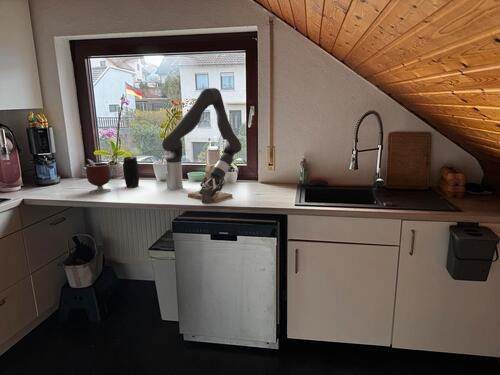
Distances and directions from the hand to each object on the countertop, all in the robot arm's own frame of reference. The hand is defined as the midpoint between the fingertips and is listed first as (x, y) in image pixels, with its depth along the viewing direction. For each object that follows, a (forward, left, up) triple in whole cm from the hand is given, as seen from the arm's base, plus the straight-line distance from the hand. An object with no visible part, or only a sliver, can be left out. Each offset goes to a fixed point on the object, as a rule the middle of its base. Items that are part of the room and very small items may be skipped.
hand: (205, 195), depth 192 cm
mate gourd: (-75, -19, -5) cm, 78 cm away
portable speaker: (-71, +2, -5) cm, 71 cm away
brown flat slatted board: (-8, +11, -5) cm, 14 cm away
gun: (-29, +35, -5) cm, 46 cm away
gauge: (0, +4, -5) cm, 6 cm away
